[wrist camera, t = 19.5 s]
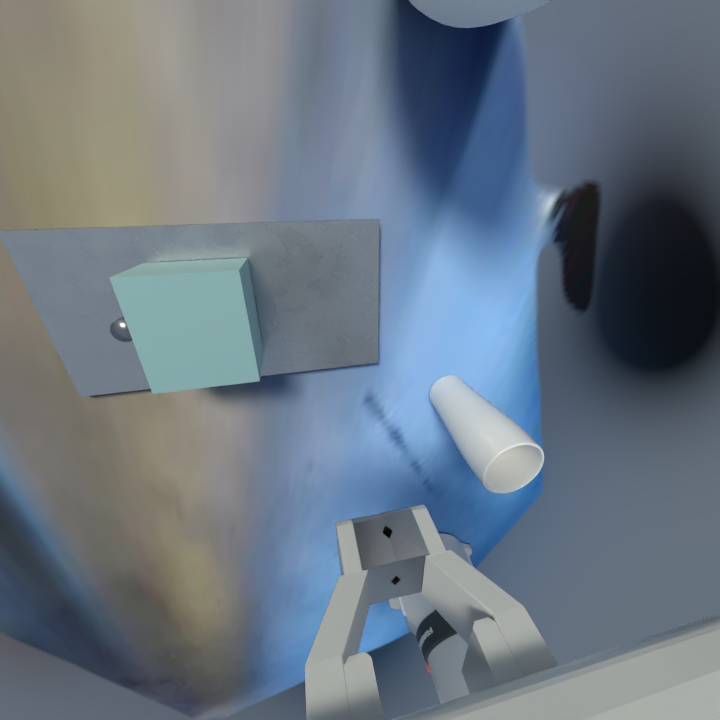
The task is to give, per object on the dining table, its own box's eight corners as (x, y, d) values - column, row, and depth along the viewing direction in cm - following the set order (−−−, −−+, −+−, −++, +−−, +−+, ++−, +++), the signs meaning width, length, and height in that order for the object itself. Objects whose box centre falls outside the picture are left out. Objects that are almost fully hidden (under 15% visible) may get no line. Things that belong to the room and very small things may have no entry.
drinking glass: (460, 410, 46) (529, 493, 33) (417, 409, 44) (473, 497, 31) (474, 369, 43) (556, 442, 30) (429, 367, 41) (496, 442, 28)
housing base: (376, 359, 39) (387, 378, 35) (85, 391, 33) (55, 420, 29) (376, 218, 32) (391, 221, 28) (6, 230, 26) (-49, 235, 22)
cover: (264, 352, 34) (259, 381, 29) (174, 361, 33) (152, 393, 27) (247, 257, 30) (239, 270, 24) (143, 263, 28) (109, 277, 23)
